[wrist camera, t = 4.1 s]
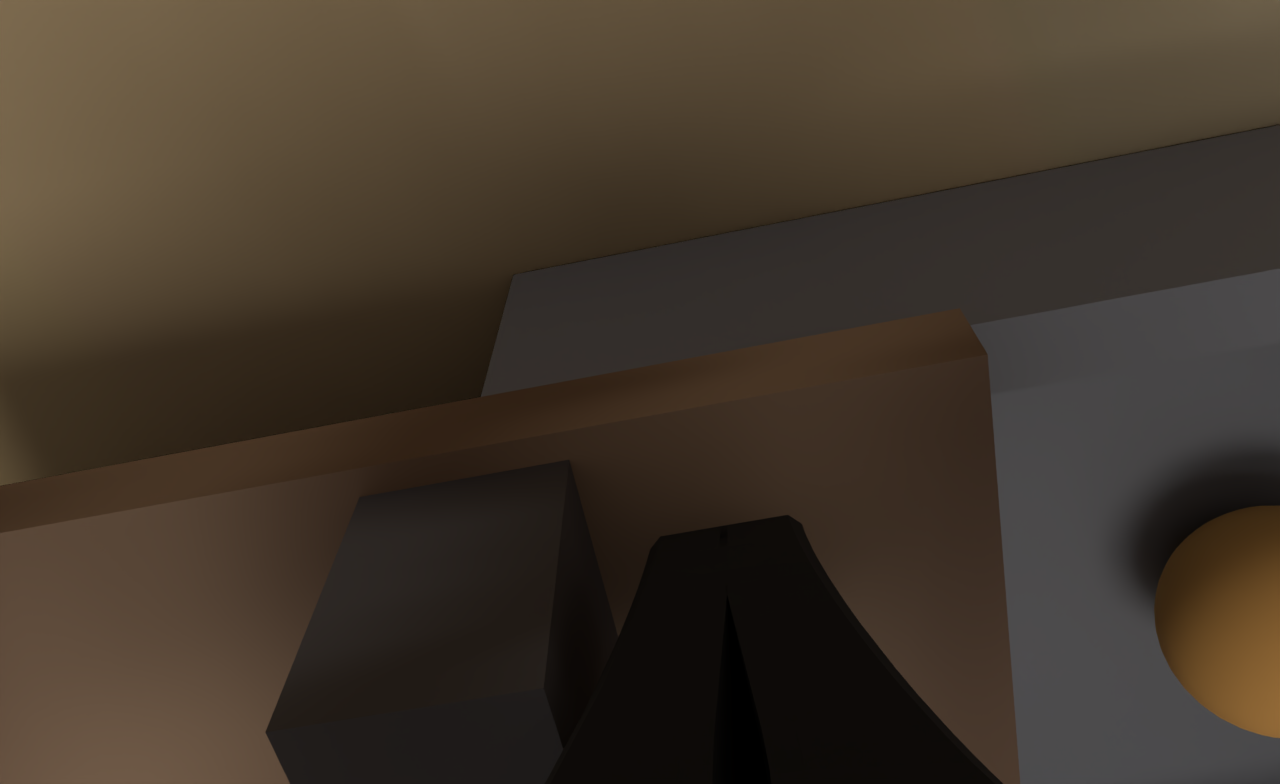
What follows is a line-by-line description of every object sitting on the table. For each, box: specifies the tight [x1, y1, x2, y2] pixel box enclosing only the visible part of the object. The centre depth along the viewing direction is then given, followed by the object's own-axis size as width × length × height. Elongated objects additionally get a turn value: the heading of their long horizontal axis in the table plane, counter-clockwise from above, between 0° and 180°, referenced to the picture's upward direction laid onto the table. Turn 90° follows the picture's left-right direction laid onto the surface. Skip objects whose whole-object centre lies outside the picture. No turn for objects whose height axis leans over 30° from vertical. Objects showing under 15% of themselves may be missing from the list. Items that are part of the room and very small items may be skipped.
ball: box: [1154, 505, 1280, 738], centre depth 15 cm, size 3×3×3 cm
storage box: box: [481, 125, 1280, 784], centre depth 15 cm, size 12×12×4 cm
